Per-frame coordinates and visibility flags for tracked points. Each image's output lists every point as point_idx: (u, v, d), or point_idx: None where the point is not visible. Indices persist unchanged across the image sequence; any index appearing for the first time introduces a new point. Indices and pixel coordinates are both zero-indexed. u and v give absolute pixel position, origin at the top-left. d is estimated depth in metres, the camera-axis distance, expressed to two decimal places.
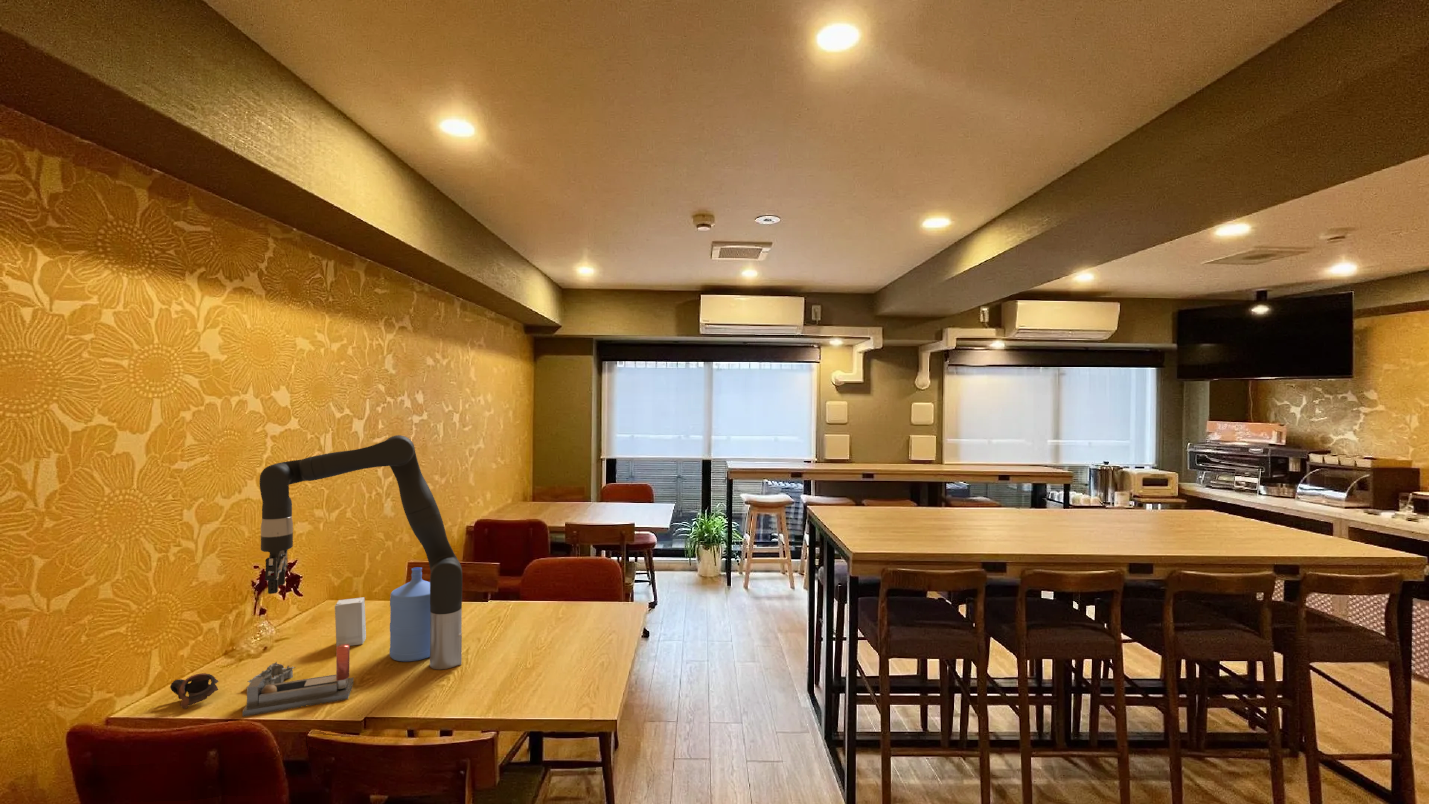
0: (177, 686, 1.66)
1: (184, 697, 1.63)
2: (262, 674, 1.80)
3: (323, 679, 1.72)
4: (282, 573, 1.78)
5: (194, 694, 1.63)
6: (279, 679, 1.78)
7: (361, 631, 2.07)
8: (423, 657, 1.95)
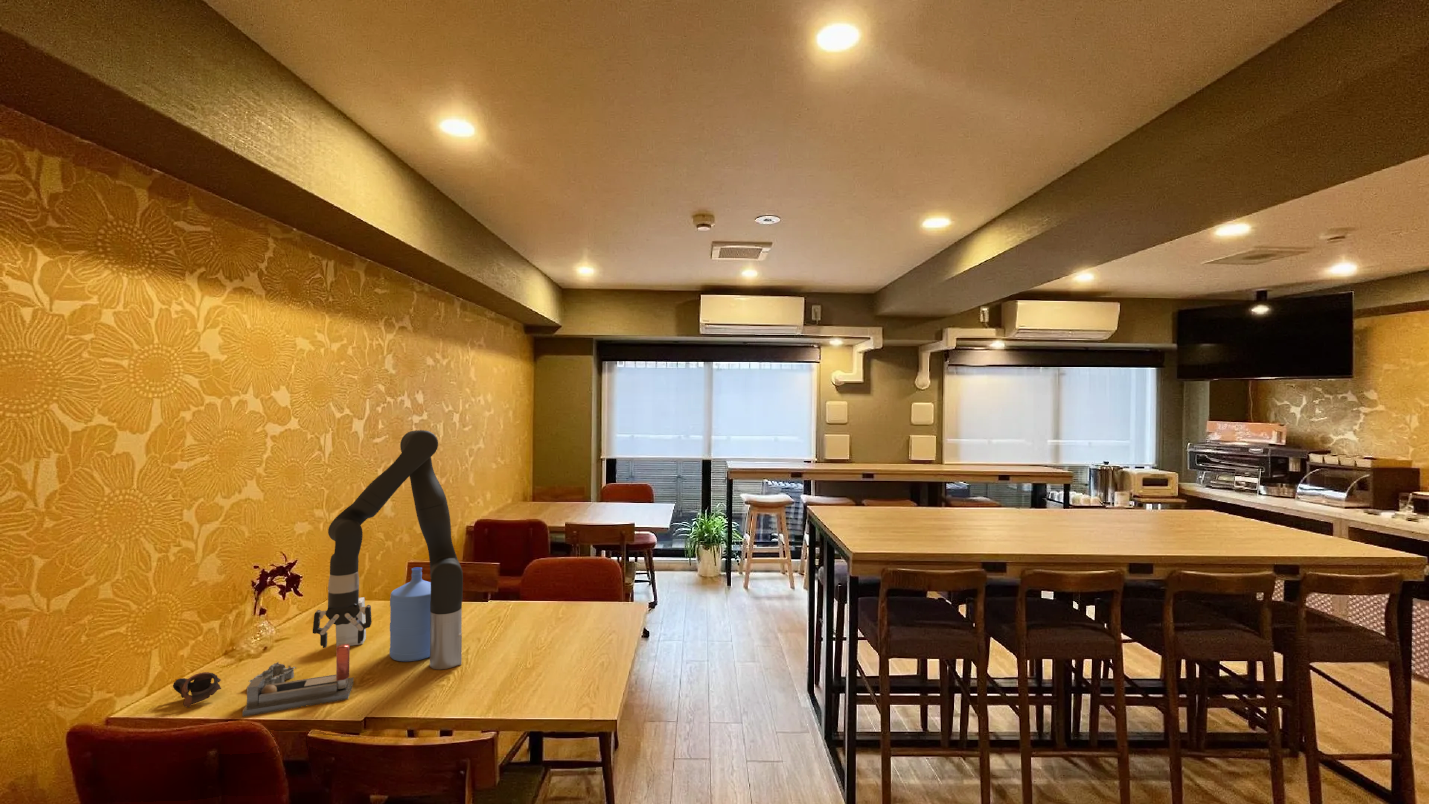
0: (180, 685, 1.66)
1: (187, 696, 1.64)
2: (263, 674, 1.80)
3: (323, 679, 1.72)
4: None
5: (197, 693, 1.64)
6: (280, 679, 1.78)
7: None
8: (423, 657, 1.95)
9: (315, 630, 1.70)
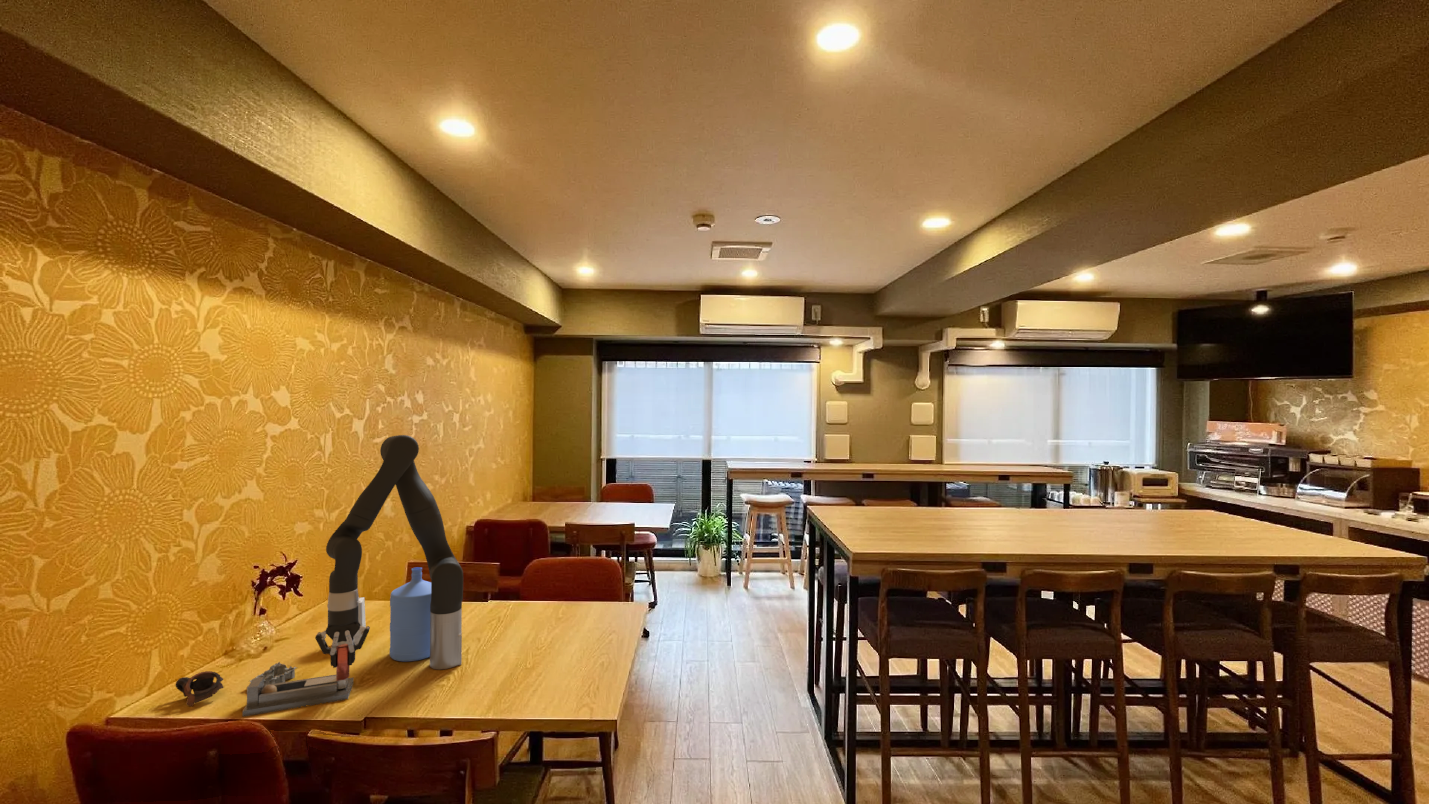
0: (182, 684, 1.67)
1: (190, 695, 1.64)
2: (264, 674, 1.80)
3: (323, 679, 1.72)
4: (336, 653, 1.73)
5: (200, 692, 1.65)
6: (280, 679, 1.78)
7: None
8: (423, 657, 1.95)
9: (324, 651, 1.70)
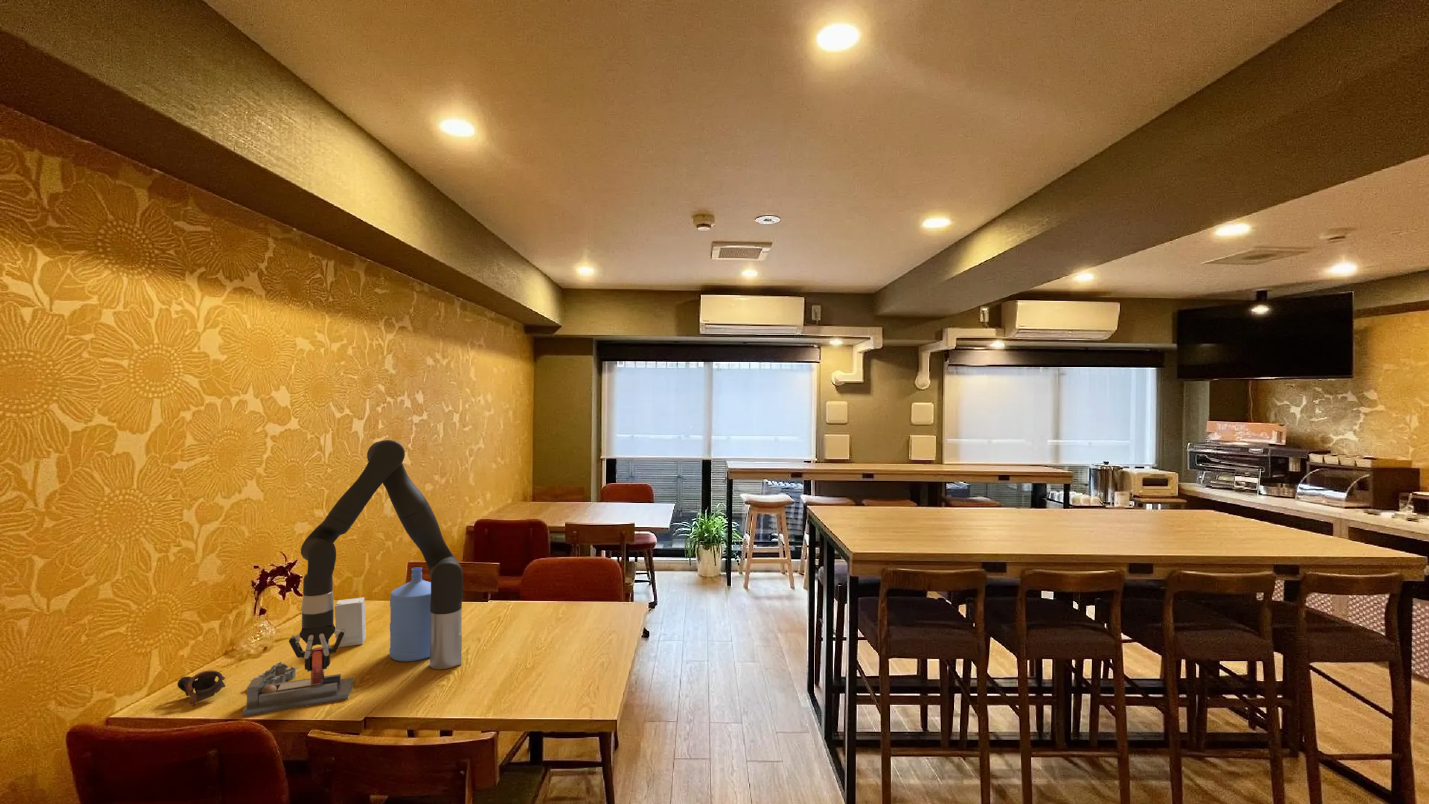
0: (184, 683, 1.68)
1: (192, 694, 1.65)
2: (266, 674, 1.80)
3: (298, 683, 1.69)
4: None
5: (202, 691, 1.65)
6: (281, 679, 1.78)
7: (361, 631, 2.07)
8: (423, 657, 1.95)
9: (298, 654, 1.68)
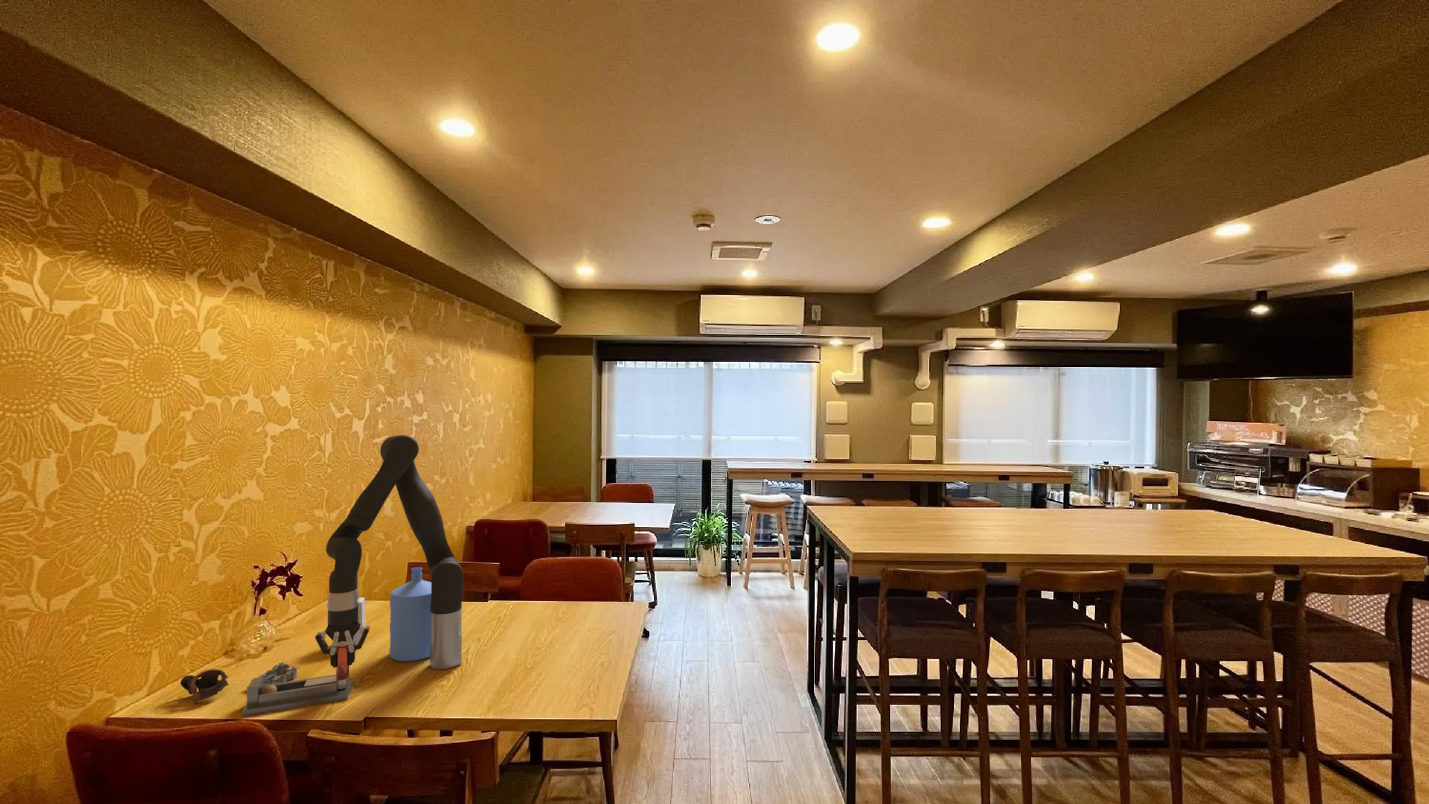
0: (188, 682, 1.68)
1: (195, 692, 1.66)
2: (267, 673, 1.80)
3: (323, 679, 1.72)
4: None
5: (205, 689, 1.66)
6: (282, 679, 1.78)
7: None
8: (423, 657, 1.95)
9: (324, 651, 1.70)
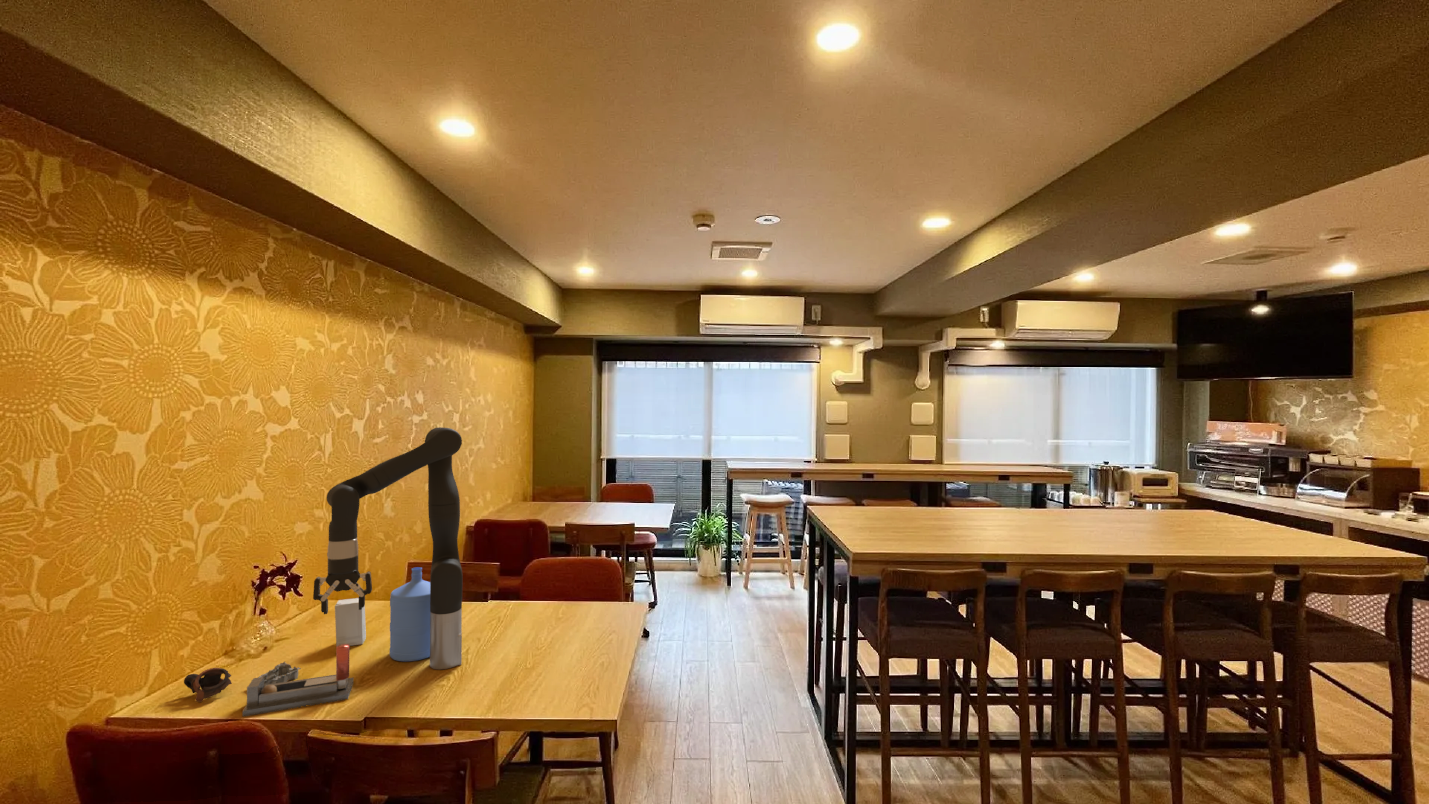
0: (191, 680, 1.69)
1: (199, 691, 1.67)
2: (269, 673, 1.80)
3: (323, 679, 1.72)
4: (327, 600, 1.72)
5: (209, 688, 1.67)
6: (282, 680, 1.78)
7: (361, 631, 2.07)
8: (423, 657, 1.95)
9: (315, 597, 1.69)
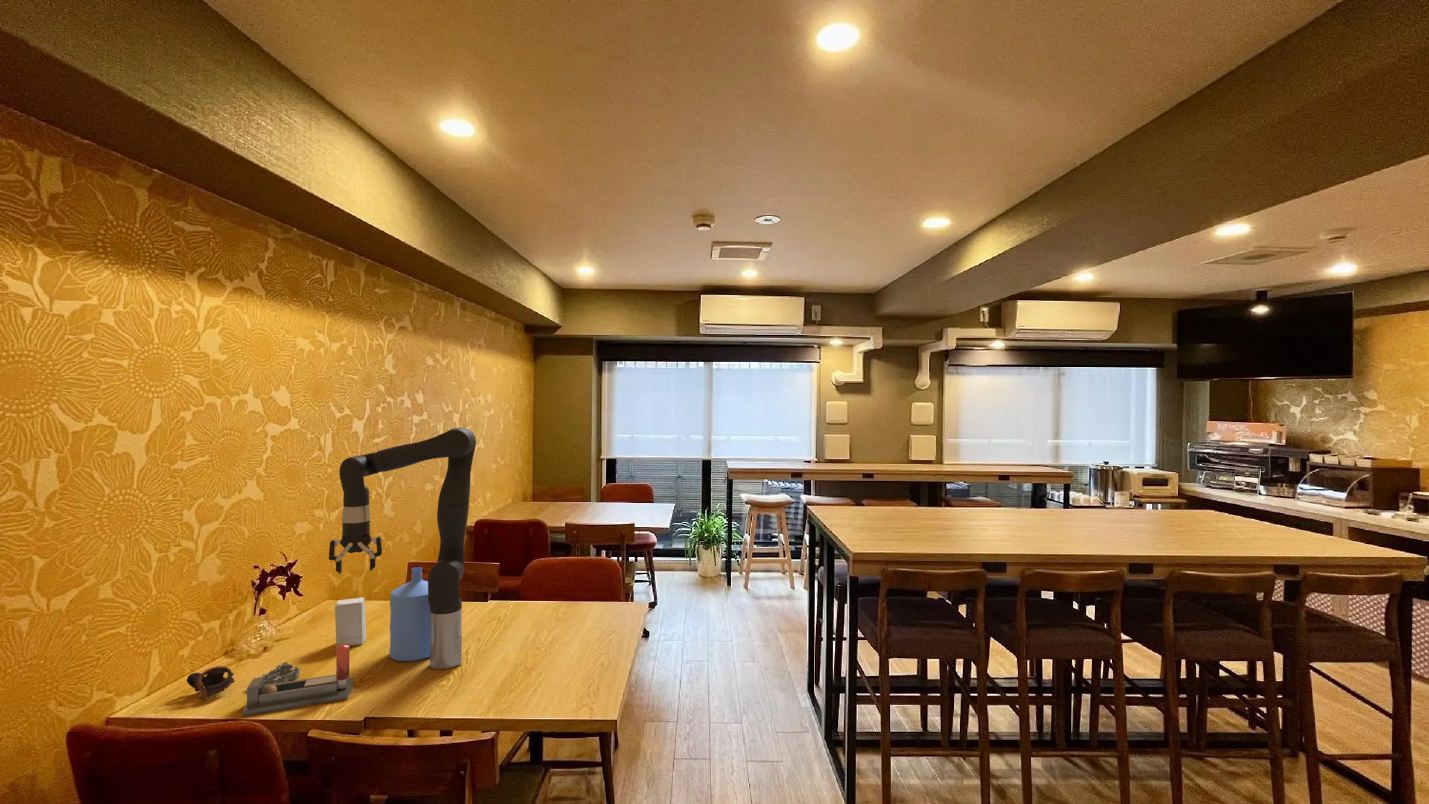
0: (194, 679, 1.70)
1: (202, 689, 1.67)
2: (270, 673, 1.80)
3: (323, 679, 1.72)
4: (341, 561, 1.88)
5: (212, 686, 1.68)
6: (283, 680, 1.77)
7: (361, 631, 2.07)
8: (423, 657, 1.95)
9: (331, 557, 1.86)
